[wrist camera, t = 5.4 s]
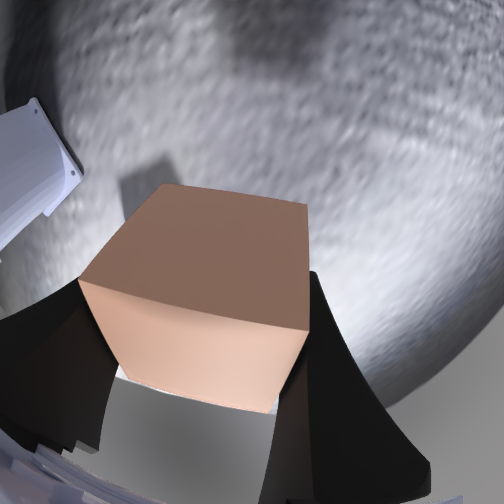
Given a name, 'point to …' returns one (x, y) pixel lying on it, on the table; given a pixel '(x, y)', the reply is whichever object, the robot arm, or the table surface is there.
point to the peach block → (206, 294)
